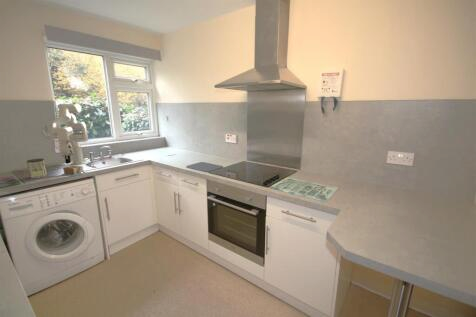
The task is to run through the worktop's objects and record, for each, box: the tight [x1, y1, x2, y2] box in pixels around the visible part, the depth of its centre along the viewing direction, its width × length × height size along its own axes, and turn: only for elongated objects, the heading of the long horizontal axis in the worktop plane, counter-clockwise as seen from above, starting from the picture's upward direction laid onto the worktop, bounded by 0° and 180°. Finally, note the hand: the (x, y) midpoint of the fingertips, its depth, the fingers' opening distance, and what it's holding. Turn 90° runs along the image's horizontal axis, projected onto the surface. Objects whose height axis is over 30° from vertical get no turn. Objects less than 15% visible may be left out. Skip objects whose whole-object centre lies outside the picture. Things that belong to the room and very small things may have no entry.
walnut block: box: [62, 165, 85, 174], centre depth 188 cm, size 8×5×12 cm
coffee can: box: [26, 158, 48, 179], centre depth 179 cm, size 10×10×14 cm
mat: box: [61, 172, 85, 177], centre depth 188 cm, size 14×14×1 cm
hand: (68, 163), depth 188 cm, fingers closed
